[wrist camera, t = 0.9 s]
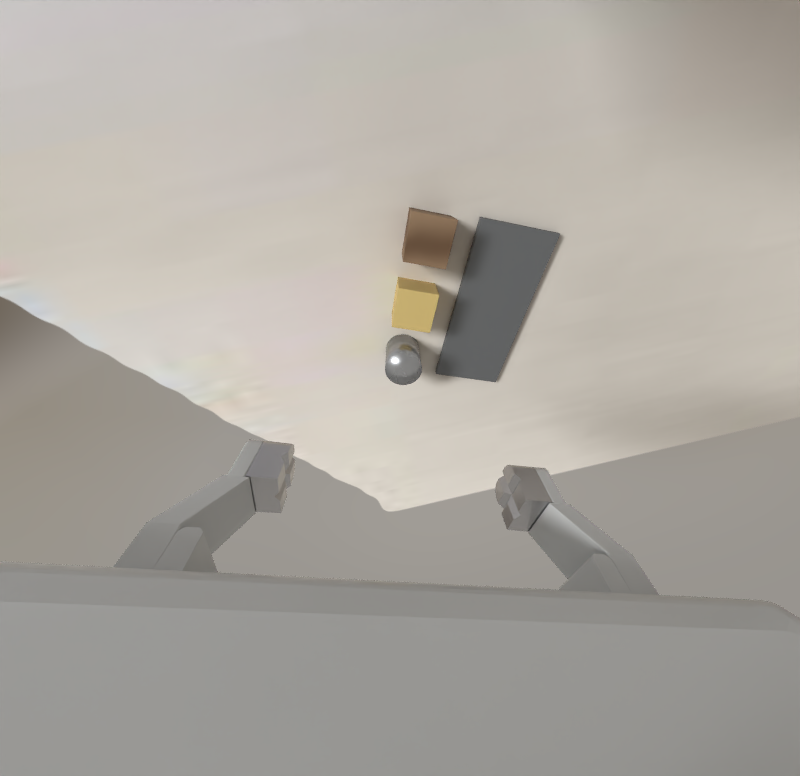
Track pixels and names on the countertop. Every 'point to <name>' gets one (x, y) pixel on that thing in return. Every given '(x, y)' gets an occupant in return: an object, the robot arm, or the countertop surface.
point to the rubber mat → (493, 297)
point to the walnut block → (428, 238)
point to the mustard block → (414, 305)
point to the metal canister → (403, 360)
